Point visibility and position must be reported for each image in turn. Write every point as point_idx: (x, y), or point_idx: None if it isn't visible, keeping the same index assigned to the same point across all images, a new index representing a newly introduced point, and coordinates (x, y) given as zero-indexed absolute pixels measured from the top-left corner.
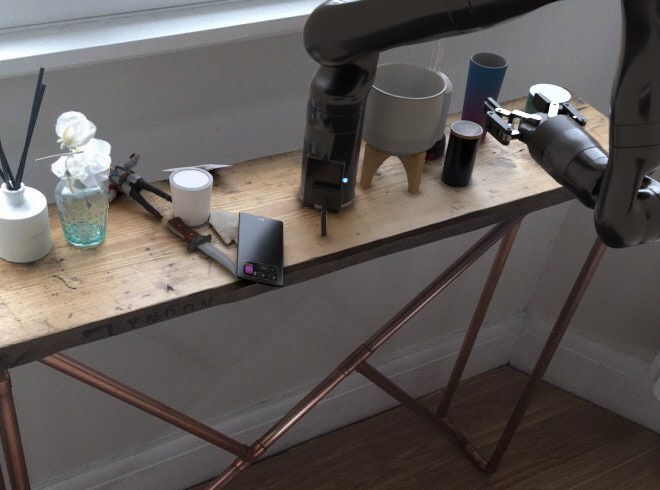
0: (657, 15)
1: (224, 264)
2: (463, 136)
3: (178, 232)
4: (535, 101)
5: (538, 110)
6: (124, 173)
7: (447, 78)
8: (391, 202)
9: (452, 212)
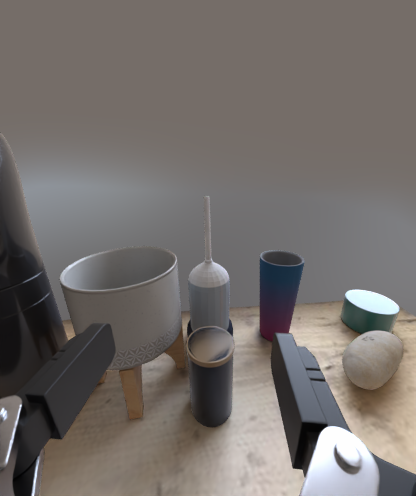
0: None
1: None
2: (191, 358)
3: None
4: (274, 363)
5: (280, 409)
6: None
7: (220, 270)
8: (88, 428)
9: None
